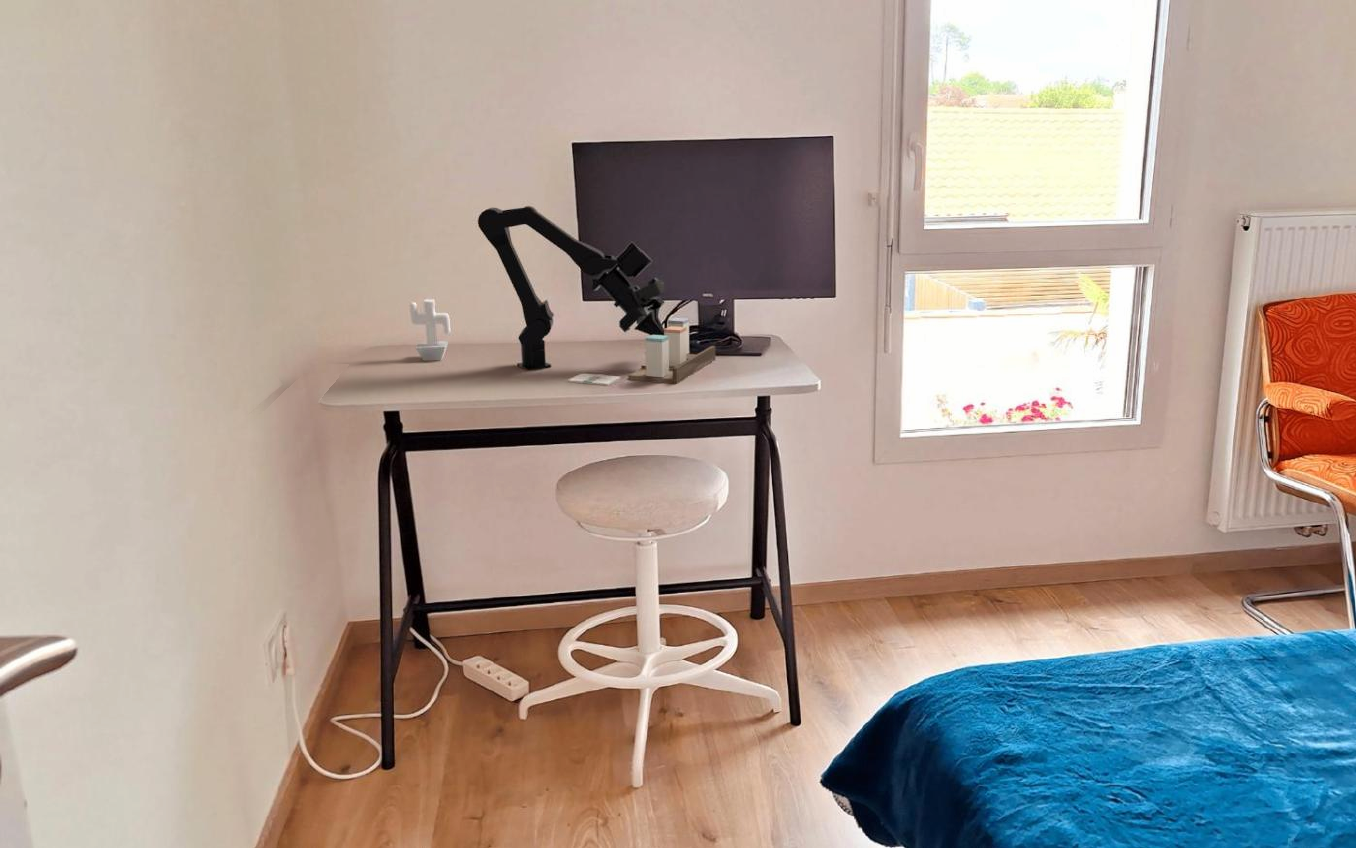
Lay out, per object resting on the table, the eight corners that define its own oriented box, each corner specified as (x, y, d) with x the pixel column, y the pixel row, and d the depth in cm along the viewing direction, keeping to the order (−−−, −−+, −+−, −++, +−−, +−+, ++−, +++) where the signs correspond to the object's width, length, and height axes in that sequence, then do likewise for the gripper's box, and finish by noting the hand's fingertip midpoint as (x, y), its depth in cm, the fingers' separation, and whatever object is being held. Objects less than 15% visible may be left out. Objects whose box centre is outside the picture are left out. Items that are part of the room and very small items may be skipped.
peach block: (664, 365, 233) (664, 329, 231) (670, 362, 237) (670, 326, 234) (680, 366, 232) (680, 330, 229) (686, 363, 235) (686, 327, 233)
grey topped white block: (668, 355, 244) (668, 320, 242) (674, 352, 248) (674, 317, 245) (683, 356, 243) (683, 321, 240) (689, 353, 246) (688, 318, 244)
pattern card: (567, 381, 223) (567, 379, 223) (582, 374, 230) (582, 372, 230) (607, 385, 220) (607, 382, 220) (620, 378, 226) (620, 375, 226)
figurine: (450, 361, 245) (446, 301, 241) (412, 362, 244) (407, 302, 240) (454, 355, 252) (449, 296, 248) (416, 356, 251) (411, 297, 247)
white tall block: (646, 375, 224) (645, 337, 221) (653, 372, 227) (652, 334, 225) (662, 377, 222) (662, 339, 220) (669, 373, 226) (668, 335, 223)
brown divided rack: (628, 379, 225) (628, 364, 224) (670, 356, 249) (670, 342, 248) (676, 383, 221) (676, 368, 220) (715, 359, 244) (715, 346, 243)
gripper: (631, 273, 222) (678, 323, 222) (656, 263, 239) (699, 310, 239) (599, 306, 226) (645, 356, 226) (626, 294, 243) (669, 340, 243)
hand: (666, 339), depth 234 cm, fingers closed
